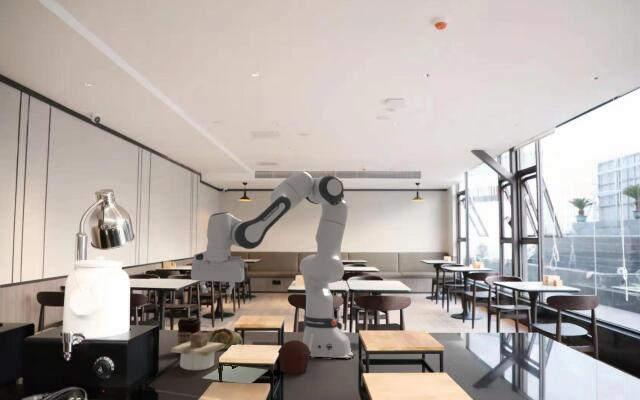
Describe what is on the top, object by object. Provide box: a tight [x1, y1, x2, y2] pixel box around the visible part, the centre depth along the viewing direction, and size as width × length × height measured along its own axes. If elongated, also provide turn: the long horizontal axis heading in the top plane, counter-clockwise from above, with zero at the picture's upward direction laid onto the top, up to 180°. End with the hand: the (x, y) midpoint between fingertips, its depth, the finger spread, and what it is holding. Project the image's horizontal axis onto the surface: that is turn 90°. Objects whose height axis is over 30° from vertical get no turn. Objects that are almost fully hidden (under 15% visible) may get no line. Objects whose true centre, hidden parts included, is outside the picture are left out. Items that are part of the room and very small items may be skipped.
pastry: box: [208, 327, 244, 351], centre depth 176 cm, size 14×12×8 cm
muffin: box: [277, 339, 311, 375], centre depth 146 cm, size 12×11×10 cm
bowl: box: [179, 352, 216, 371], centre depth 146 cm, size 11×11×6 cm
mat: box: [202, 365, 269, 384], centre depth 138 cm, size 16×16×1 cm
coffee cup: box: [177, 316, 201, 355], centre depth 164 cm, size 9×8×13 cm
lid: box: [170, 332, 225, 356], centre depth 146 cm, size 13×13×5 cm
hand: (216, 293), depth 157 cm, fingers open, 8 cm apart
